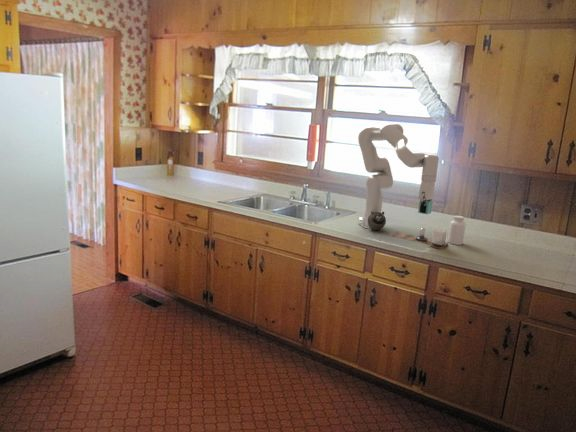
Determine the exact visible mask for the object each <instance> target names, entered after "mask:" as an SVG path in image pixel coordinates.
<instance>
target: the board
mask: <svg viewBox="0 0 576 432" xmlns="http://www.w3.org/2000/svg"><path fill="white" fill-rule="evenodd" d="M389 236H390V237H394V238H395V237H396V238H399V239H402V240H408V241H412V242H416V243H420V244H424V245H428V246H429V247H430V248H432V249H437V250H443V249H445V248H446V247H448V246H449V242H448V243H446V242H445V243H444V246H443V247H437V246H434V245H432V238H431V239H430V238H427V241H426V242H421V241H417V240H416V237H417V235H413V234H409V233H404V232H402V231H395V232H392V233H390V234H389Z"/></svg>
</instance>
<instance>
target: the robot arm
mask: <svg viewBox="0 0 576 432" xmlns="http://www.w3.org/2000/svg"><path fill="white" fill-rule="evenodd" d="M357 139H358V144H359V147H360V151H361V155H362V160H363V163H364V168H365V171H366V172H368V173H369V174H370V173H371V174H372V175H370V176H368V178H367V179H366V185H365V186H366V199H365V209H364V217H358V222H361V224H360V226H361V227H362V228H364V229H369V228H370V229H372V228H371V227H370V226H369V225H368V217H369V216H370V215H371V211H372V212H380V213H382V210H383V209H382V208H383V200H384V199H383V198H384V197H383V192H382V191H385V190H387V191H388V190H389V189H391V188H392V186H393V184H394V178H393V173H392V169H391V165H390V162H389V160H388V158H387V157H385V156H380V155H378V152H377V148H376V146H375V144H374V143H373V142H374V141H378V142H379V141H387V142H388V144H390V146H392V147H393V149H395V153H396V155H397V157H398V159H399V161H401V162H402V164H404V165H405V166H407V167H409V168H422V170H421V171H422V172H421V178H420V179H421V181H420V186H419V192H418V197H417V198H418V199H419V202H420V212H421V213H420V214H422V213H426V203H427V200H429V201H433V199H434V194H435V183H436V182H437V175H438V170H439V169H438V167H439V162H440V161H439V156H438V155H435V154H428V153H427V154H426V153H423V152H418V153H417V152H414V153H413V152H412V151H411V150H410V148H408V147H407V144H408V142H409V141H408V137H407V136H406V135H404V128H403V126H402V125H401V124H399V123H393V122H392V123H391V122H390V123H389V122H388V123H384V124H383V125H366V126H364V127H362V129H361V130H360V131H359V134H358V138H357ZM424 201H425V202H424Z"/></svg>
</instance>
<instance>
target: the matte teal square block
mask: <svg viewBox="0 0 576 432" xmlns="http://www.w3.org/2000/svg"><path fill="white" fill-rule="evenodd" d="M424 202H425V201H424ZM418 203H419V204H418V212H417V213H419V214H423V215H430V214H432V211H433V209H432V208H433V200H432V201H429V200H427V203H426V213H421V212H420V201H418Z"/></svg>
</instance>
